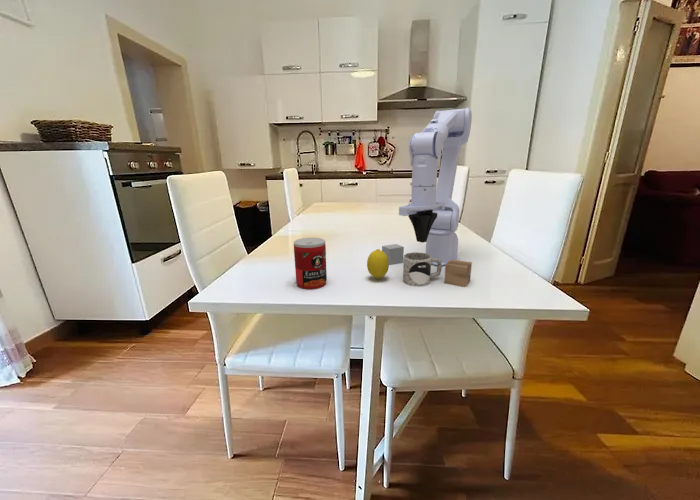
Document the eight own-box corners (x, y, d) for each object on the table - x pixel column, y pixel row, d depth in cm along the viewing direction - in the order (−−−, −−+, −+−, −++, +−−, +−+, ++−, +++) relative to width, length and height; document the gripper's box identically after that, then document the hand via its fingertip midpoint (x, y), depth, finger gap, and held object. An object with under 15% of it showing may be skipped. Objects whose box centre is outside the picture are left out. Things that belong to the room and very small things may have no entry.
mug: (409, 287, 75) (410, 261, 74) (399, 278, 82) (399, 253, 80) (447, 283, 77) (449, 257, 76) (434, 274, 84) (435, 250, 82)
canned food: (304, 292, 74) (301, 246, 71) (291, 281, 80) (288, 240, 77) (332, 285, 78) (331, 242, 75) (318, 276, 84) (316, 235, 81)
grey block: (395, 259, 98) (396, 243, 96) (403, 262, 94) (403, 246, 93) (381, 261, 96) (382, 246, 94) (389, 265, 92) (389, 249, 91)
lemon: (392, 277, 82) (392, 248, 80) (382, 284, 77) (382, 253, 75) (373, 273, 85) (374, 245, 83) (363, 280, 81) (362, 250, 78)
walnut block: (450, 277, 82) (451, 259, 80) (470, 281, 79) (471, 262, 78) (444, 283, 78) (445, 264, 76) (465, 287, 75) (466, 267, 74)
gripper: (430, 183, 82) (427, 234, 85) (390, 186, 73) (389, 243, 77) (453, 184, 76) (449, 239, 80) (412, 188, 68) (410, 248, 72)
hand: (421, 241), depth 78 cm, fingers closed
